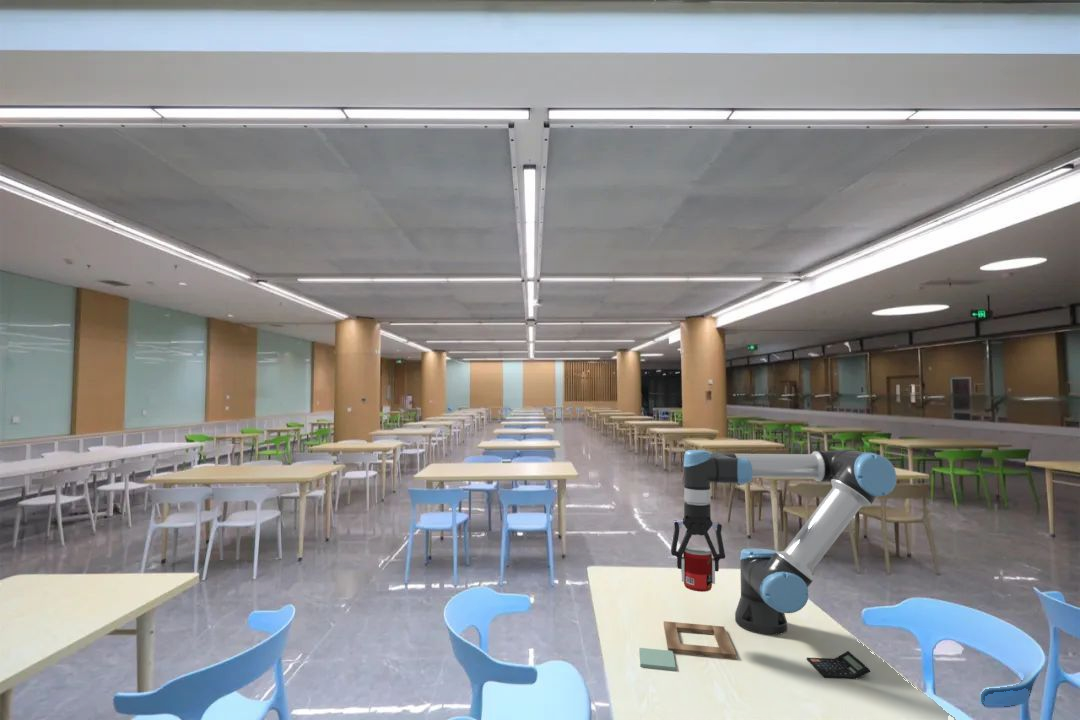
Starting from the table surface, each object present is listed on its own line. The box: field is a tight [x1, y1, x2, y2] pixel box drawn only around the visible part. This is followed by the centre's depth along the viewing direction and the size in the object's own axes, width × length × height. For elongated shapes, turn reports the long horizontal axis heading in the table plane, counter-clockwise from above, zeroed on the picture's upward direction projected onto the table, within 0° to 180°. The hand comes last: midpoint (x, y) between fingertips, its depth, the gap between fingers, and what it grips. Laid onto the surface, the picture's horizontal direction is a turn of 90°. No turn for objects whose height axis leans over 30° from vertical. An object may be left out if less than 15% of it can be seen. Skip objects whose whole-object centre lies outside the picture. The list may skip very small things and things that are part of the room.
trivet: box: [638, 647, 677, 671], centre depth 139 cm, size 9×9×1 cm
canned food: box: [683, 545, 713, 593], centre depth 152 cm, size 8×8×11 cm
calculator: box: [806, 650, 871, 680], centre depth 136 cm, size 9×12×3 cm
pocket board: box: [663, 620, 737, 660], centre depth 151 cm, size 18×18×1 cm
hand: (697, 581), depth 152 cm, fingers closed on canned food, 8 cm apart
